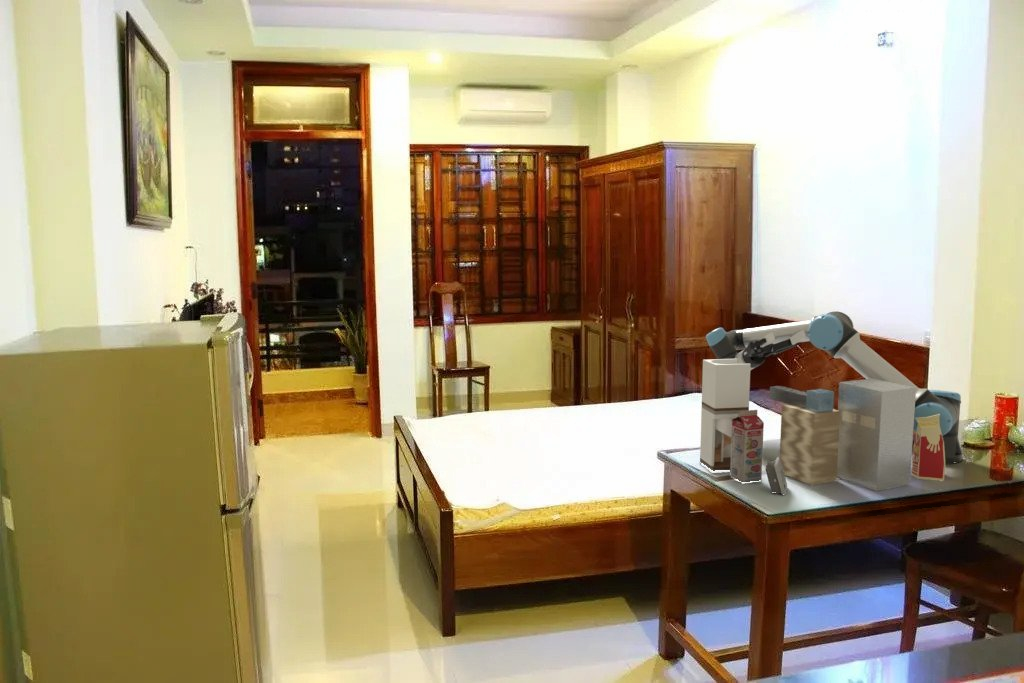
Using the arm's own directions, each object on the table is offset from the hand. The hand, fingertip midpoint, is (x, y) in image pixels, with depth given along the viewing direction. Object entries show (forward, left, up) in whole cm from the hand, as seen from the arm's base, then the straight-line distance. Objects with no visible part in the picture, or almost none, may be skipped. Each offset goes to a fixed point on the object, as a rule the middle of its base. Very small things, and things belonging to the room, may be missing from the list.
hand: (788, 334), depth 270 cm
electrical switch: (+8, +40, -42) cm, 58 cm away
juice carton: (+16, +31, -42) cm, 54 cm away
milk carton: (-40, +17, -42) cm, 61 cm away
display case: (+22, +19, -42) cm, 51 cm away
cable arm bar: (-1, +20, -20) cm, 28 cm away
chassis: (-22, +25, -42) cm, 53 cm away
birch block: (-4, +24, -42) cm, 48 cm away
